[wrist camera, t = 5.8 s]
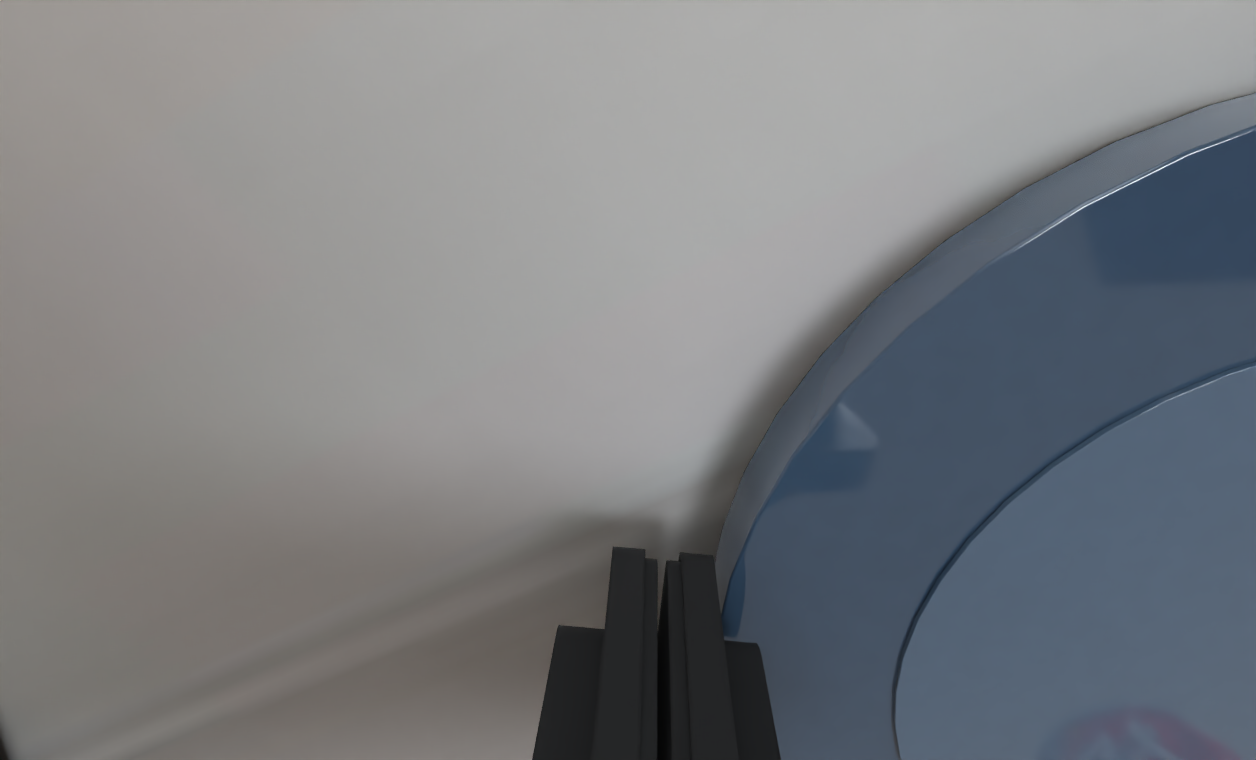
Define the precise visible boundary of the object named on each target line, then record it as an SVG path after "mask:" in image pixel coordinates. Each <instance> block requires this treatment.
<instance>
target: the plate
mask: <svg viewBox="0 0 1256 760" xmlns="http://www.w3.org/2000/svg"><path fill="white" fill-rule="evenodd" d="M715 570H716V578H717V586H718V595H719V603H720V611H721V619H722V627H723V635H724V640H726V641H737V642H748V643H757V644H758V646H759V648H760V651H761V655H762V660H763V666H764V671H765V676H766V682H767V687H768V692H769V698H770V703H771V709H772V714H773V719H774V725H775V730H776V735H777V741H778V746H779V751H780V757H781V760H1256V93H1254V94H1251V95H1247V96H1243V97H1239V98H1235V99H1232V100H1228V101H1224V102H1220V103H1216V104H1212V105H1210V106H1207V107H1204V108H1202V109H1199V110H1197V111H1194V112H1191V113H1189V114H1186V115H1184V116H1181V117H1178V118H1176V119H1173V120H1171V121H1168V122H1165V123H1163V124H1160V125H1158V126H1155V127H1153V128H1150V129H1147V130H1145V131H1142V132H1140V133H1137V134H1134V135H1132V136H1129V137H1127V138H1124V139H1121V140H1119V141H1116V142H1114V143H1112V144H1110V145H1108V146H1106V147H1104V148H1102V149H1100V150H1098V151H1096V152H1094V153H1092V154H1090V155H1089V156H1087V157H1085V158H1083V159H1081V160H1079V161H1077V162H1075V163H1073V164H1071V165H1069V166H1067V167H1065V168H1063V169H1061V170H1059V171H1057V172H1055V173H1054V174H1052V175H1050V176H1048V177H1046V178H1044V179H1042V180H1040V181H1038V182H1036V183H1034V184H1032V185H1030V186H1028V187H1026V188H1024V189H1023V190H1021V191H1020V192H1018V193H1017V194H1015V195H1014V196H1012V197H1011V198H1009V199H1008V200H1006V201H1005V202H1003V203H1002V204H1000V205H999V206H997V207H996V208H994V209H993V210H991V211H990V212H988V213H986V214H985V215H983V216H982V217H980V218H979V219H977V220H976V221H974V222H973V223H971V224H970V225H968V226H967V227H965V228H964V229H962V230H961V231H959V232H958V233H956V234H955V235H953V236H952V237H950V238H948V239H947V240H945V241H944V242H943V243H942V244H941V245H939V246H938V247H937V248H936V249H934V250H933V251H932V252H931V253H930V254H928V255H927V256H926V257H925V258H924V259H922V260H921V261H920V262H919V263H918V264H916V265H915V266H914V267H913V268H912V269H910V270H909V271H908V272H907V273H905V274H904V275H903V276H902V277H901V278H899V279H898V280H897V281H896V282H895V283H893V284H892V285H891V286H890V287H889V288H887V289H886V290H885V291H884V292H883V293H881V294H880V295H879V296H878V297H877V298H876V299H875V300H874V301H873V302H872V303H871V304H870V305H869V306H868V307H867V308H866V309H865V310H864V311H863V312H862V313H861V314H860V315H859V316H858V317H857V318H856V319H855V321H854V322H853V323H852V324H851V325H850V326H849V327H848V328H847V329H846V330H845V331H844V332H843V333H842V334H841V335H840V336H839V337H838V338H837V339H836V340H835V341H834V342H833V343H832V344H831V345H830V347H829V348H828V349H827V350H826V351H825V352H824V353H823V354H822V355H821V356H820V357H819V359H818V360H817V361H816V363H815V364H814V365H813V367H812V368H811V369H810V371H809V372H808V373H807V375H806V376H805V377H804V379H803V380H802V381H801V383H800V384H799V385H798V387H797V388H796V389H795V391H794V392H793V393H792V395H791V396H790V397H789V399H788V400H787V401H786V403H785V404H784V405H783V407H782V408H781V409H780V411H779V412H778V413H777V415H776V417H775V418H774V420H773V422H772V424H771V425H770V427H769V429H768V431H767V433H766V434H765V436H764V438H763V440H762V441H761V443H760V445H759V447H758V449H757V450H756V452H755V454H754V456H753V457H752V459H751V461H750V463H749V464H748V466H747V468H746V470H745V472H744V474H743V476H742V479H741V482H740V484H739V487H738V489H737V492H736V494H735V497H734V499H733V502H732V505H731V507H730V510H729V512H728V515H727V517H726V520H725V523H724V525H723V528H722V532H721V536H720V541H719V546H718V550H717V555H716V559H715Z"/></svg>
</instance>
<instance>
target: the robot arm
mask: <svg viewBox="0 0 1256 760" xmlns="http://www.w3.org/2000/svg"><path fill="white" fill-rule="evenodd" d="M657 598H658V562H657V559H647V558H645V549H635V548H624V547H613V552H612V562H611V572H610V582H609V592H608V602H607V612H606V622H605V629H595V628H584V627H573V626H561V625H559V626H558V629H557V633H556V638H555V643H554V648H553V653H552V659H551V664H550V669H549V674H548V680H547V685H546V690H545V695H544V701H543V706H542V711H541V716H540V722H539V727H538V732H537V737H536V743H535V748H534V753H533V758H532V760H781V757H780V751H779V746H778V741H777V735H776V730H775V725H774V719H773V714H772V709H771V703H770V698H769V692H768V687H767V682H766V676H765V671H764V666H763V660H762V655H761V651H760V648H759V646H758V644H757V643H748V642H737V641H726V640H724V635H723V627H722V619H721V611H720V603H719V595H718V586H717V578H716V570H715V562H714V557H713V555H702V554H690V553H680V555H679V560H678V561H668V560H667V562H666V568H665V576H664V584H663V593H662V601H661V609H660V617H659V625H658V633H657Z"/></svg>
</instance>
